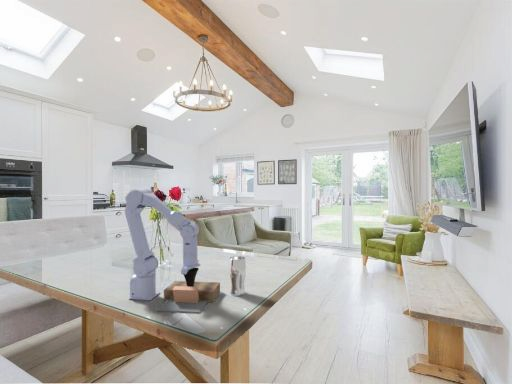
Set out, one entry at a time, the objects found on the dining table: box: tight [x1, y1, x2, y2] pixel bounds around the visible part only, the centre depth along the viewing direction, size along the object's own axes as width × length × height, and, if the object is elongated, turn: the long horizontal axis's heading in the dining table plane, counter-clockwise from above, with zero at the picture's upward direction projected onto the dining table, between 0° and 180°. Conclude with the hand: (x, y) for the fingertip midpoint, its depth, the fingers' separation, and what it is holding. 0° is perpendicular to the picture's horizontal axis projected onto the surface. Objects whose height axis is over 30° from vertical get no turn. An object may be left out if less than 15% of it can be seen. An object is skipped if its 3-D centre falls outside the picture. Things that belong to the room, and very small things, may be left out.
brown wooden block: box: [163, 280, 221, 303], centre depth 114 cm, size 20×11×4 cm, turn 83°
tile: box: [173, 286, 199, 303], centre depth 106 cm, size 9×6×2 cm
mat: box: [156, 299, 209, 314], centre depth 104 cm, size 16×10×1 cm, turn 83°
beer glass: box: [228, 255, 247, 297], centre depth 117 cm, size 7×7×15 cm
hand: (190, 286), depth 112 cm, fingers closed
